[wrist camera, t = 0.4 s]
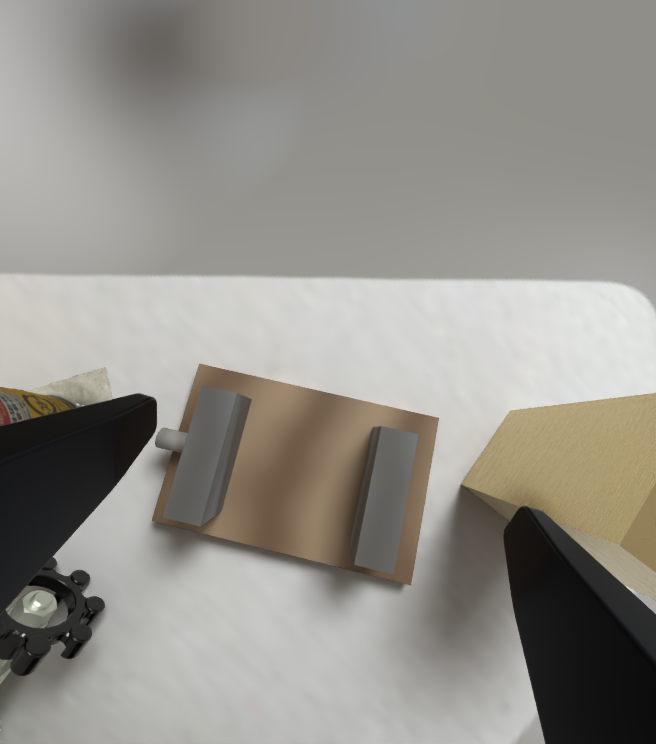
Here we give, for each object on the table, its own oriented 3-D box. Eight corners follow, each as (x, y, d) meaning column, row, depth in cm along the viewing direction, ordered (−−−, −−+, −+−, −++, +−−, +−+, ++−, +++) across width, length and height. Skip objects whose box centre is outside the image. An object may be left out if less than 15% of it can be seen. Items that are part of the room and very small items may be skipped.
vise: (434, 418, 22) (460, 415, 18) (406, 577, 21) (428, 617, 16) (197, 365, 23) (166, 349, 19) (152, 514, 21) (106, 536, 17)
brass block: (526, 534, 21) (777, 663, 9) (460, 484, 22) (619, 545, 10) (575, 457, 22) (862, 486, 10) (510, 410, 23) (711, 386, 11)
